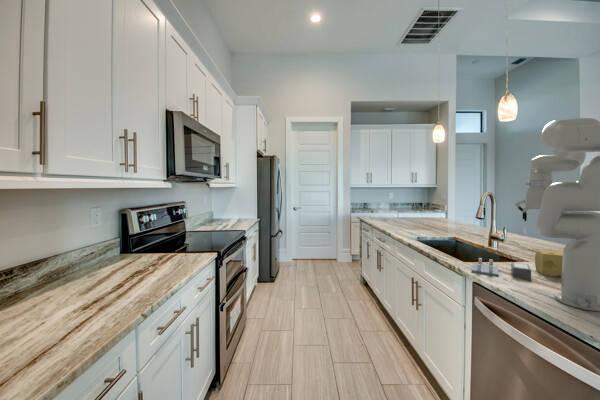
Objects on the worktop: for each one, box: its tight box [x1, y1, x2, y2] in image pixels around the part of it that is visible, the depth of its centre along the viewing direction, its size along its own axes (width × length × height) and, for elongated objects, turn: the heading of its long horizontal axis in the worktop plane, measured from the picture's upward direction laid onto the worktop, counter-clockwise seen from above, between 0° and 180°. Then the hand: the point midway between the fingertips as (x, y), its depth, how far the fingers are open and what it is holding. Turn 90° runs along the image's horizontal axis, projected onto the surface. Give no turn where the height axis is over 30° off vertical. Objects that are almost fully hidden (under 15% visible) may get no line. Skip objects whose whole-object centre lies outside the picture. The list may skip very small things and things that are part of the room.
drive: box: [510, 261, 532, 281], centre depth 116 cm, size 10×6×5 cm, turn 144°
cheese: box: [534, 249, 563, 278], centre depth 118 cm, size 10×11×10 cm
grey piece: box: [471, 257, 500, 277], centre depth 123 cm, size 14×10×4 cm
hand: (539, 221), depth 119 cm, fingers open, 9 cm apart
